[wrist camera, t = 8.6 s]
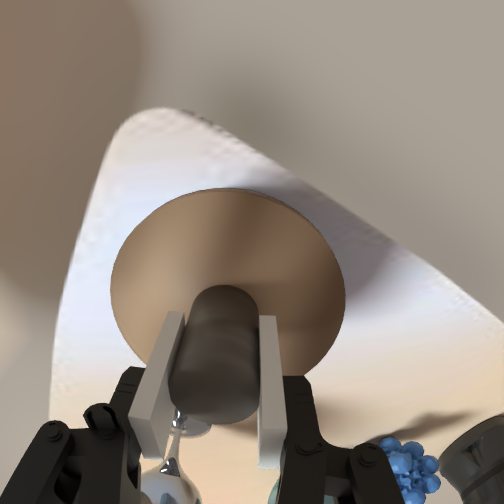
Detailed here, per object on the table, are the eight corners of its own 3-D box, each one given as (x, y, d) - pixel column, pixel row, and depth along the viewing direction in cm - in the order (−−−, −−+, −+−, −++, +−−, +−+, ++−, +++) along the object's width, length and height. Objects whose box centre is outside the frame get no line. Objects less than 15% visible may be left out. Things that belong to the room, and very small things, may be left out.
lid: (358, 199, 16) (424, 251, 9) (317, 387, 21) (335, 472, 14) (110, 184, 16) (29, 224, 9) (132, 372, 20) (100, 453, 14)
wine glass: (133, 406, 32) (97, 516, 18) (191, 392, 31) (168, 521, 17) (171, 443, 35) (151, 544, 21) (226, 433, 33) (219, 546, 19)
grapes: (430, 408, 33) (463, 479, 22) (419, 436, 35) (445, 501, 24) (345, 430, 34) (365, 512, 22) (342, 456, 36) (357, 529, 25)
